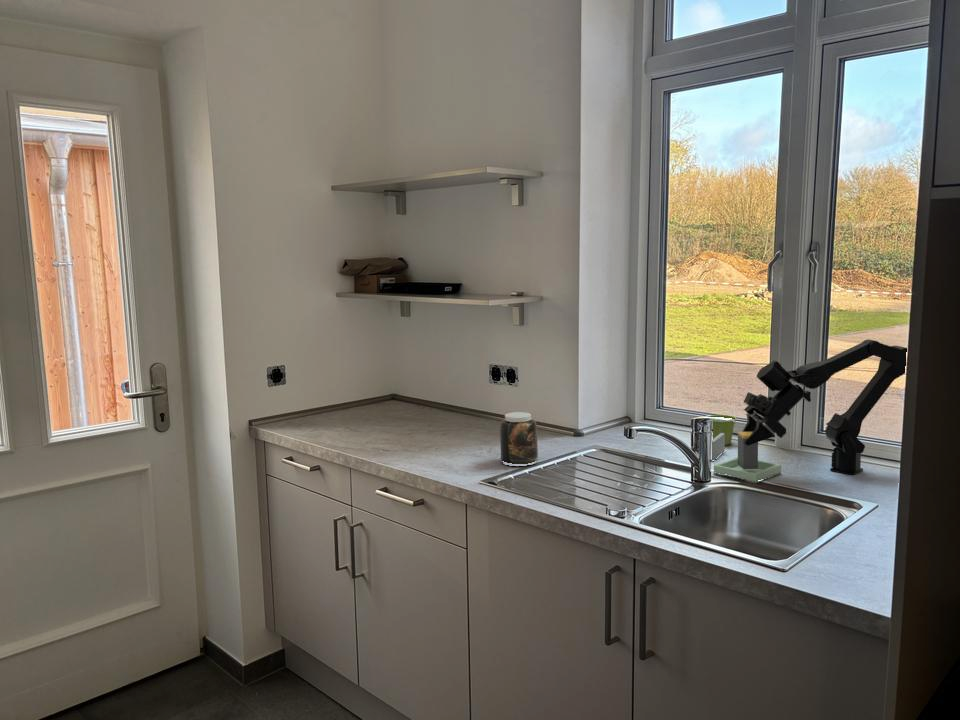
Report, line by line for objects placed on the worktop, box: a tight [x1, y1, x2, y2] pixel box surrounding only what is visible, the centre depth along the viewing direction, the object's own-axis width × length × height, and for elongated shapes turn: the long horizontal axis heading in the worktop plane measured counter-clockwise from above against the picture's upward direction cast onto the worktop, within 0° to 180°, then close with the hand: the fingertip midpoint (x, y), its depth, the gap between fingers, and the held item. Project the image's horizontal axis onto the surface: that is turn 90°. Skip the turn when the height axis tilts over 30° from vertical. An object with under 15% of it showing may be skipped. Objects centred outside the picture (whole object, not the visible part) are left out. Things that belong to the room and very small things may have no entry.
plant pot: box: [707, 414, 737, 446], centre depth 243 cm, size 9×9×9 cm
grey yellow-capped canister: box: [737, 431, 759, 469], centre depth 209 cm, size 4×5×10 cm
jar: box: [499, 411, 539, 464], centre depth 230 cm, size 12×12×15 cm
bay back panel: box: [712, 433, 726, 461], centre depth 228 cm, size 1×12×6 cm, turn 147°
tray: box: [713, 456, 782, 484], centre depth 210 cm, size 13×13×2 cm
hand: (742, 442), depth 209 cm, fingers closed on grey yellow-capped canister, 5 cm apart
